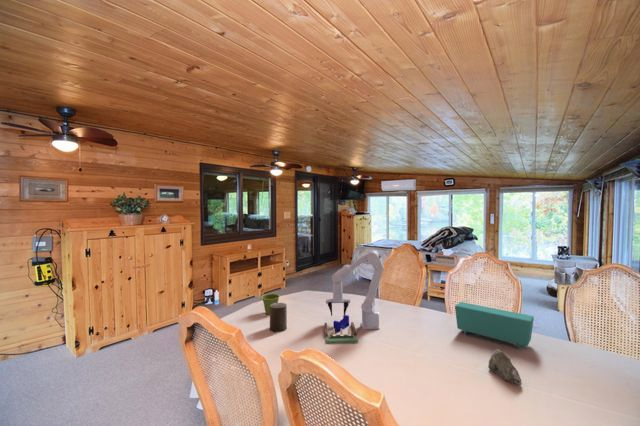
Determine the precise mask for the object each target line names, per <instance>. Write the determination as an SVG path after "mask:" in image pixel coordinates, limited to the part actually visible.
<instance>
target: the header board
mask: <svg viewBox="0 0 640 426" xmlns="http://www.w3.org/2000/svg"><path fill="white" fill-rule="evenodd" d="M325 338H326V344H358V343H359V338H358V335H357V336H354V333H353V334H351V328H348V327H347V334H343V330H342V329H340V334H336V332H335V329H334V328H333V329H332V334H330V335H329V336H328V337H325Z"/></svg>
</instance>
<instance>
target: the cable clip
mask: <svg viewBox="0 0 640 426" xmlns="http://www.w3.org/2000/svg"><path fill="white" fill-rule="evenodd" d="M342 316H343V318H342V319H339V321H338V320H334V321H333V323H332V324H333V329H335V334H336V333H337V334H340V333H341V331H340V329H342V331H343V330H345V329H346V328H348V327H349V326H350V315H347V314H345V315H344V314H343V315H342Z"/></svg>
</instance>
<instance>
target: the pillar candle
mask: <svg viewBox="0 0 640 426" xmlns="http://www.w3.org/2000/svg"><path fill="white" fill-rule="evenodd" d="M287 306H288V305H287V304H286V303H284V302H278V303H273V304H271V305H270V315H269V330H270V331H271V332H273V333H282V332H285V331H286V330H287V327H288V323H287V322H288V321H287V317H288V316H287V313H288V312H287V311H288V310H287Z"/></svg>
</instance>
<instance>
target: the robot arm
mask: <svg viewBox="0 0 640 426" xmlns="http://www.w3.org/2000/svg"><path fill="white" fill-rule="evenodd" d="M368 263H369V264H370V265H371V266H372V267H373V269H374V271H373V274H372V277H371V281H370V282H369V283H370V284H369V287H368V290H367V293H366V295H365V299H364V300H363V303H361V307H360V308H361V317H362V319H361V322H360V326H361V327H362V330H379V329H380V315H379V311H377V310H375V309H374V308H375V305H376V302H375V300H376V295H377V291H378V289H379V285H380V282H381V280H382V279H381V278H382V275H383V272H384V269H385V267H384V262H383V259H382V255H381V254H380V252H379V251H378V250H376V249H372V250H370V251H369V252H367V253H365V254H363V255H362V256H359V258H357V259H356V260H355V261H354V262H352V263H351V264H344V265H343V266H342V267H341V268H340V269H338V270H336V272H334V273H333V274H332V276H331V280H332V298H326V299H325V304H326V305H327V306H328V307H327V308H328V309H329V311H330V317H331V316H332V317H333V304H343V315H346V312H347V310H348V307H349V304H351V299H350V298H344V297H343V296H344V295H343V291H344V290H343V289H344V288H343V280H344V279H346V278H347V277H349V276H350V275H351V274H353V272H354V269H356V268H357V267H359V266H360V265H362V264H368Z"/></svg>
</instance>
